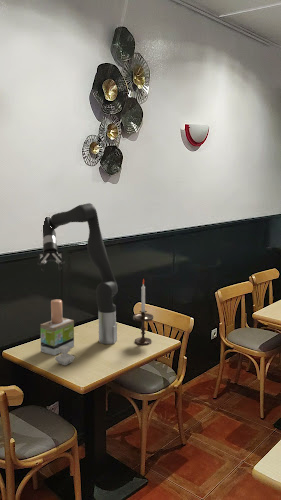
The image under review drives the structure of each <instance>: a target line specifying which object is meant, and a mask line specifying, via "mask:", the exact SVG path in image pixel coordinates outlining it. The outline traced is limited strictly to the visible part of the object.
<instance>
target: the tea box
mask: <svg viewBox="0 0 281 500" xmlns="http://www.w3.org/2000/svg"><path fill="white" fill-rule="evenodd" d="M64 345H65V346H69V347H70V348H71V349H72V348H74V347H75V321H74V319H69V318H66V317H63V322H62V323H58V324H54V323H52V321H51V320H49V321H46V322H44V323H40V352H42V353H44V354H47V355H51V356H55V357H56V355H58V354H60V353H61V352H60V351H59V350H58V348H59V347H61V346H64Z"/></svg>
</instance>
